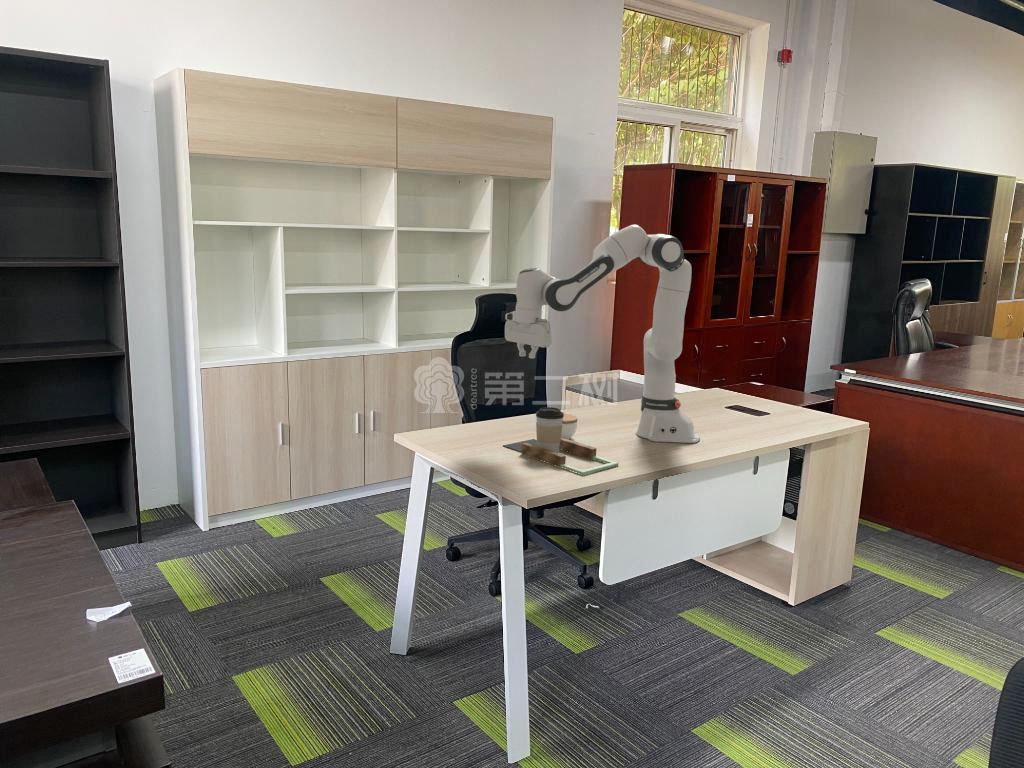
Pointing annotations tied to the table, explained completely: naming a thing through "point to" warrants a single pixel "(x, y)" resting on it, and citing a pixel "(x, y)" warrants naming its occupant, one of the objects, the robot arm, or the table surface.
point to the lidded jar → (568, 426)
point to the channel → (556, 457)
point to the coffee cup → (549, 428)
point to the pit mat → (520, 444)
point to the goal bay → (594, 469)
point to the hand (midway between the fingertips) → (527, 357)
